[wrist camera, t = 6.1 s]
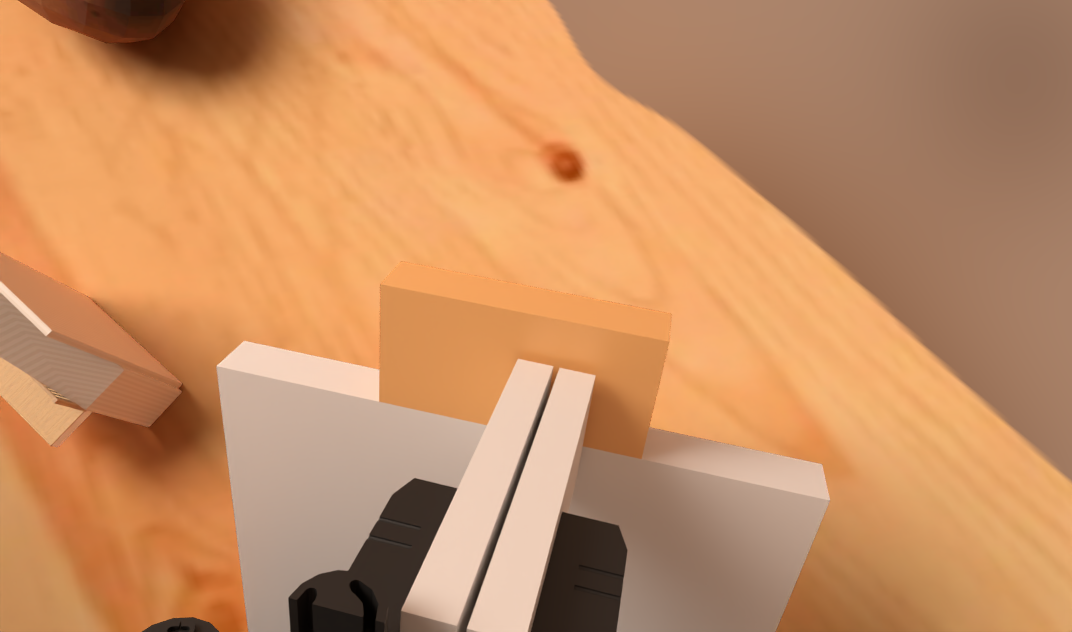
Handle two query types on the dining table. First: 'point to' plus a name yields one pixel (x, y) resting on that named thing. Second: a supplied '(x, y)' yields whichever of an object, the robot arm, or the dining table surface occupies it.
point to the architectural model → (71, 358)
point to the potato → (110, 17)
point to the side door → (456, 429)
